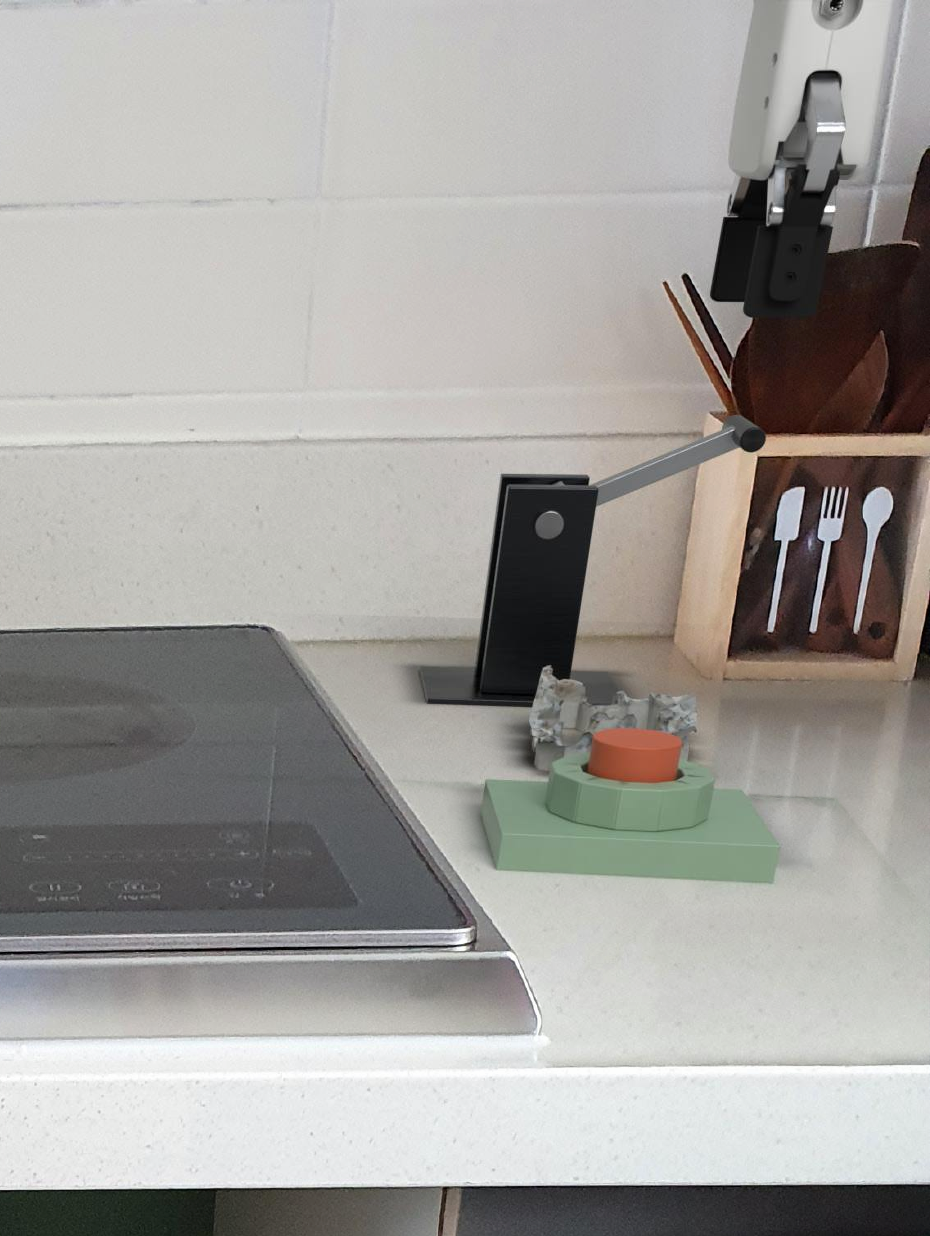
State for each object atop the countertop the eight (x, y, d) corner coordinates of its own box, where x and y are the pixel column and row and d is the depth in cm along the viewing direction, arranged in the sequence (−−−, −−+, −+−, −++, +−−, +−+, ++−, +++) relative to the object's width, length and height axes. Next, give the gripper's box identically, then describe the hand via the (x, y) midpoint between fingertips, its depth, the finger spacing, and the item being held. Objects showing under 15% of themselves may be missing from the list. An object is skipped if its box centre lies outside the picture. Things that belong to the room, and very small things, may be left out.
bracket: (604, 693, 126) (640, 471, 121) (623, 727, 119) (661, 493, 114) (417, 687, 128) (444, 468, 123) (425, 720, 121) (453, 490, 116)
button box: (735, 826, 102) (749, 749, 101) (772, 885, 94) (789, 803, 93) (480, 815, 105) (490, 740, 103) (496, 872, 97) (507, 791, 95)
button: (668, 769, 99) (675, 729, 99) (681, 790, 96) (688, 749, 95) (582, 765, 100) (588, 726, 99) (591, 787, 97) (598, 746, 96)
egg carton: (527, 741, 117) (539, 661, 115) (684, 752, 114) (699, 670, 113) (516, 793, 108) (529, 706, 106) (686, 805, 105) (702, 717, 104)
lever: (752, 443, 118) (739, 399, 117) (772, 458, 113) (759, 411, 112) (519, 540, 122) (505, 498, 122) (528, 557, 118) (514, 514, 117)
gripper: (970, -105, 97) (880, 325, 105) (878, -77, 112) (805, 297, 120) (782, -100, 98) (707, 323, 106) (716, -73, 114) (654, 295, 121)
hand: (759, 309), depth 113 cm, fingers open, 9 cm apart
